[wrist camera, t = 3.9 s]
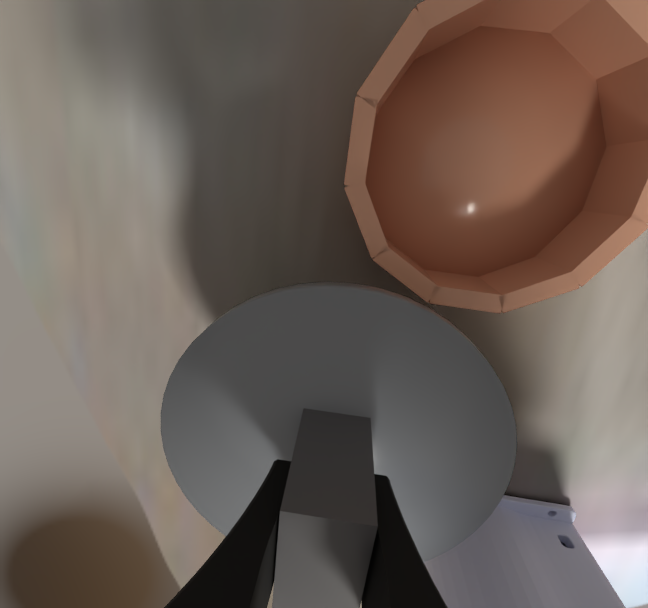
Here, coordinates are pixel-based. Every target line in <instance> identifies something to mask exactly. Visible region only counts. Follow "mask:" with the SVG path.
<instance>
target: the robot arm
mask: <svg viewBox="0 0 648 608" xmlns="http://www.w3.org/2000/svg"><path fill="white" fill-rule="evenodd" d="M290 465H291V461H286V460H279V459H277V460H275V461H274V462H273V465H272V467H271V469H270V471H269V473H268V474H267V476H266V478H265V480H264V482H263V483H262V485H261V487H260V488H259V490H258V491H257V493H256V495H255V496H254V498H253V499H252V501H251V502H250V504H249V505H248V507H247V508H246V510H245V511H244V513H243V514H242V516H241V517H240V518H239V520H238V521H237V523H236V524H235V525H234V527H233V528H232V529H231V531H230V532H229V533H228V535H227V536H226V537H225V539H224V540H223V541H222V543H221V544H220V545H219V546H218V548H217V549H216V550H215V551H214V553H213V554H212V555H211V556H210V557H209V559H208V560H207V561H206V562H205V563H204V565H203V566H202V567H201V568H200V569H199V570H198V571H197V573H196V574H195V575H194V576H193V577H192V578H191V579H190V580H189V582H188V583H187V584H186V585H185V586H184V587H183V588H182V589H181V590H180V591H179V592H178V594H177V595H176V596H175V597H174V598H173V599H172V600H171V601H170V602H169V603H168V604H167V605H166V606H165V607H164V608H267V605H268V601H269V598H270V594H271V590H272V587H273V583H274V578H275V566H276V553H277V541H278V528H279V516H280V508H281V504H282V500H283V495H284V491H285V487H286V482H287V478H288V474H289V469H290ZM374 476H375V492H376V507H377V522H378V528H377V532H376V537H375V541H374V546H373V550H372V554H371V559H370V563H369V568H368V572H367V577H366V581H365V586H364V590H363V594H362V599H361V600H362V608H625V606H624V604H623V603H622V601H621V600H620V598H619V597H618V595H617V593H616V592H615V590H614V589H613V587H612V586H611V584H610V582H609V581H608V579H607V578H606V576H605V575H604V573H603V571H602V570H601V568H600V567H599V565H598V564H597V562H596V560H595V559H594V557H593V556H592V554H591V552H590V551H589V549H588V548H587V546H586V545H585V543H584V541H583V540H582V538H581V537H580V535H579V534H578V532H577V530H576V529H575V527H574V526H573V524H572V523H573V521H574V520H575V518H576V512H575V511H574V509H573V508H572V507H571V506H567V505H561V504H555V503H549V502H543V501H537V500H531V499H524V498H518V497H512V496H506V495H503V497H502V499H501V501H500V503H499V504H498V505H497V507H496V508H495V510H494V511H493V513H492V514H491V515H490V517H489V518H488V519H487V520H486V521H485V522H484V523H483V524H482V525H481V526H480V527H479V528H478V529H477V530H476V531H475V532H474V533H473V534H471V535H470V536H469V537H468V538H467V539H465V540H464V541H463V542H461V543H460V544H458V545H457V546H455V547H453V548H452V549H450V550H449V551H447V552H445V553H443V554H441V555H439V556H437V557H435V558H433V559H431V560H428V561H425V562H423V560H422V558H421V556H420V554H419V552H418V550H417V548H416V545H415V543H414V541H413V539H412V536H411V534H410V532H409V530H408V528H407V525H406V523H405V521H404V518H403V516H402V513H401V511H400V508H399V506H398V503H397V500H396V498H395V495H394V492H393V489H392V486H391V483H390V480H389V478H388V477H387V476H384V475H378V474H374Z"/></svg>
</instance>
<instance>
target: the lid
mask: <svg viewBox="0 0 648 608" xmlns="http://www.w3.org/2000/svg"><path fill="white" fill-rule="evenodd" d="M161 435H162V442H163V448H164V452H165V455H166V458H167V461H168V465H169V467H170V469H171V471H172V474H173V476H174V478H175V480H176V482H177V484H178V485H179V487H180V488H181V490H182V492H183V493H184V495H185V496H186V498H187V499H188V500H189V501H190V503H191V504H192V505H193V506H194V508H195V509H196V510H197V511H198V512H199V513H200V514H201V515H202V516H203V517H204V518H205V519H206V520H207V521H208V522H209V523H210V524H211V525H212V526H213V527H215V528H216V529H217V530H219V531H220V532H221V533H222V534H224V535H225V536H227V535H228V533H229V532H230V531H231V529H232V528H233V527H234V525H235V524H236V523H237V521H238V520H239V518H240V517H241V516H242V514H243V513H244V511H245V510H246V508H247V507H248V505H249V504H250V502H251V501H252V499H253V498H254V496H255V495H256V493H257V491H258V490H259V488H260V487H261V485H262V483H263V482H264V480H265V478H266V476H267V474H268V473H269V471H270V469H271V467H272V465H273V462H274V461H275V460H277V459H279V460H286V461H291V465H290V469H289V474H288V478H287V482H286V487H285V491H284V495H283V500H282V504H281V508H280V516H279V528H278V541H277V553H276V566H275V578H274V591H273V603H272V608H360V603H361V599H362V594H363V590H364V586H365V581H366V577H367V572H368V568H369V563H370V559H371V554H372V550H373V546H374V541H375V537H376V532H377V528H378V522H377V507H376V492H375V476H374V474H378V475H384V476H387V477H388V478H389V480H390V483H391V486H392V489H393V492H394V495H395V498H396V500H397V503H398V506H399V508H400V511H401V513H402V516H403V518H404V521H405V523H406V525H407V528H408V530H409V532H410V534H411V536H412V539H413V541H414V543H415V545H416V548H417V550H418V552H419V554H420V556H421V558H422V560H423V562H425V561H428V560H431V559H433V558H435V557H437V556H439V555H441V554H443V553H445V552H447V551H449V550H450V549H452V548H453V547H455V546H457V545H458V544H460V543H461V542H463V541H464V540H465V539H467V538H468V537H469V536H470V535H471V534H473V533H474V532H475V531H476V530H477V529H478V528H479V527H480V526H481V525H482V524H483V523H484V522H485V521H486V520H487V519H488V518H489V517H490V515H491V514H492V513H493V511H494V510H495V508H496V507H497V505H498V504H499V503H500V501H501V499H502V497H503V495H504V493H505V491H506V489H507V487H508V485H509V483H510V479H511V476H512V473H513V469H514V466H515V459H516V451H517V435H516V423H515V419H514V415H513V410H512V406H511V403H510V401H509V399H508V396H507V394H506V391H505V389H504V386H503V384H502V383H501V381H500V380H499V378H498V376H497V375H496V373H495V372H494V370H493V368H492V367H491V365H490V364H489V363H488V361H487V360H486V359H485V357H484V356H483V355H482V353H481V352H480V351H479V350H478V349H477V347H476V346H475V345H474V344H473V343H472V342H471V340H470V339H469V338H468V337H467V336H466V335H465V334H464V333H463V332H461V331H460V330H459V329H458V328H457V327H456V326H454V325H453V324H452V323H451V322H450V321H449V320H447V319H446V318H444V317H443V316H441V315H439V314H438V313H436V312H435V311H433V310H432V309H430V308H429V307H427V306H425V305H423V304H420V303H418V302H416V301H414V300H412V299H410V298H408V297H406V296H403V295H400V294H397V293H394V292H391V291H388V290H385V289H381V288H377V287H372V286H366V285H361V284H356V283H343V282H315V283H302V284H297V285H292V286H287V287H281V288H277V289H274V290H271V291H268V292H265V293H262V294H260V295H257V296H254V297H252V298H250V299H248V300H246V301H244V302H242V303H240V304H238V305H236V306H235V307H233V308H232V309H230V310H229V311H227V312H226V313H225V314H223V315H222V316H220V317H219V318H217V319H216V320H215V321H214V322H213V323H212V324H211V325H210V326H209V327H208V328H207V329H206V330H205V331H204V332H203V333H201V334H200V335H199V336H198V337H197V338H196V339H195V340H194V341H193V342H192V343H191V345H190V346H189V347H188V348H187V350H186V351H185V352H184V354H183V355H182V356H181V358H180V359H179V361H178V363H177V364H176V366H175V368H174V370H173V372H172V374H171V376H170V378H169V381H168V384H167V387H166V390H165V393H164V397H163V403H162V409H161Z"/></svg>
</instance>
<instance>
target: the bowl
mask: <svg viewBox="0 0 648 608" xmlns="http://www.w3.org/2000/svg"><path fill="white" fill-rule="evenodd" d="M344 185H348V186H347V187H345V188H344V189H345V191H346V194H347V196H348V199H349V202H350V204H351V207H352V209H353V212H354V215H355V217H356V220H357V222H358V225H359V228H360V230H361V233H362V235H363V238H364V240H365V243H366V246H367V248H368V251H369V253H370V256H371V258H372V259H373V261H375V262H376V263H377V264H378V265H380V266H381V267H382V268H384V269H385V270H386V271H387V272H389V273H390V274H391V275H393V276H394V277H395V278H396V279H398V280H399V281H400V282H402V283H403V284H404V285H405V286H407V287H408V288H409V289H411V290H412V291H413V292H414V293H416V294H417V295H418V296H420V297H421V298H422V299H423V300H425V301H426V302H429V303H430V304H437V305H444V306H451V307H458V308H465V309H472V310H480V311H487V312H494V313H501V312H502V313H505V312H508V311H511V310H514V309H517V308H521V307H524V306H527V305H530V304H533V303H536V302H539V301H542V300H545V299H548V298H551V297H554V296H557V295H560V294H563V293H566V292H569V291H572V290H575V289H578V288H579V286H581V287H582V286H583V285H584V284H586V283H587V282H588V281H589V280H590V279H591V278H592V277H593V276H595V275H596V274H597V273H598V272H599V271H600V270H601V269H602V268H604V267H605V266H606V265H607V264H608V263H609V262H610V261H611V260H613V259H614V258H615V257H616V256H617V255H618V254H619V253H620V252H622V251H623V250H624V249H625V248H626V247H627V246H628V245H629V244H631V243H632V242H633V241H634V240H635V239H636V238H637V237H638V236H640V235H641V234H642V233H643V232H644V231H645V230H646V229H647V228H648V225H647V224H646V223H648V0H425V1H423V2H421V3H419V4H417V6H416V9H415V8H413V10H412V11H411V13H410V14H409V16H408V17H407V19H406V20H405V22H404V23H403V25H402V26H401V28H400V29H399V31H398V32H397V34H396V35H395V37H394V38H393V40H392V41H391V43H390V44H389V46H388V47H387V49H386V50H385V52H384V53H383V55H382V56H381V58H380V59H379V61H378V62H377V64H376V65H375V67H374V68H373V70H372V71H371V73H370V74H369V76H368V77H367V79H366V80H365V82H364V83H363V85H362V86H361V87H360V89H359V90H358V92H357V97H355V103H354V111H353V119H352V126H351V134H350V142H349V149H348V157H347V165H346V172H345V180H344Z"/></svg>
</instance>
